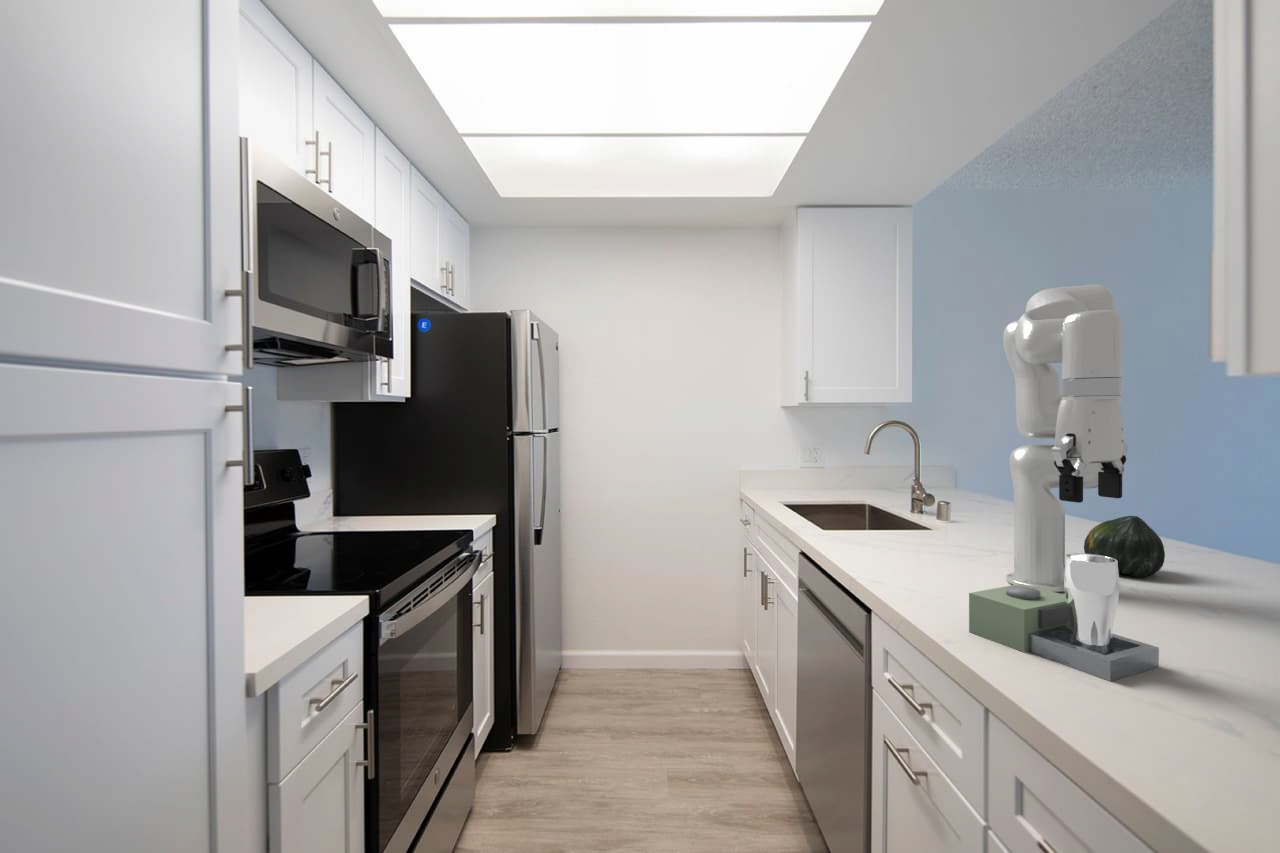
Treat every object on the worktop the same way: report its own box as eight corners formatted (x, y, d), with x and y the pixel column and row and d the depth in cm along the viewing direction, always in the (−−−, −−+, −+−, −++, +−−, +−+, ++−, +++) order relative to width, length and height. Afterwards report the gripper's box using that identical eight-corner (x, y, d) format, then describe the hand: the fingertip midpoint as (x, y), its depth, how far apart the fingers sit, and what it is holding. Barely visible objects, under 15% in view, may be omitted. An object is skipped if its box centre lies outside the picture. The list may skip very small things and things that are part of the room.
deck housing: (1022, 620, 111) (1022, 578, 111) (1082, 640, 102) (1082, 593, 101) (969, 631, 106) (969, 587, 106) (1027, 653, 96) (1027, 604, 96)
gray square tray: (1075, 639, 102) (1075, 622, 102) (1158, 666, 91) (1158, 647, 91) (1028, 651, 97) (1028, 633, 97) (1110, 681, 86) (1110, 660, 86)
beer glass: (1068, 640, 99) (1068, 550, 99) (1121, 651, 94) (1122, 557, 94) (1059, 652, 94) (1060, 558, 94) (1115, 665, 89) (1116, 565, 89)
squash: (1075, 540, 155) (1089, 502, 146) (1147, 546, 149) (1166, 508, 140) (1085, 586, 146) (1100, 550, 136) (1162, 595, 140) (1184, 558, 130)
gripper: (1099, 391, 100) (1098, 493, 100) (1030, 391, 93) (1030, 500, 94) (1151, 390, 93) (1151, 498, 94) (1081, 389, 86) (1081, 506, 87)
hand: (1090, 499), depth 94 cm, fingers open, 9 cm apart
